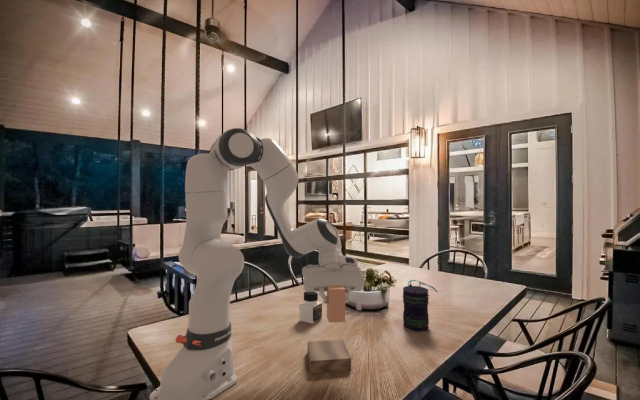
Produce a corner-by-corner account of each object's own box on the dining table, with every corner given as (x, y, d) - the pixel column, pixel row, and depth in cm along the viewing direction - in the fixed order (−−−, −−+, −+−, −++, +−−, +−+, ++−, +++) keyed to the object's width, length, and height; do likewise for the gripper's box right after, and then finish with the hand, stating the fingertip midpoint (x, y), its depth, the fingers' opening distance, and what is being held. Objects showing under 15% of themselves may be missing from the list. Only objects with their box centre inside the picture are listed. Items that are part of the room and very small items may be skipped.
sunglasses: (415, 286, 174) (416, 278, 174) (439, 294, 163) (440, 285, 163) (402, 291, 165) (403, 282, 165) (427, 299, 154) (428, 290, 154)
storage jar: (405, 320, 123) (405, 284, 123) (430, 324, 118) (429, 287, 119) (401, 329, 114) (400, 291, 114) (427, 333, 109) (427, 294, 110)
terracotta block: (345, 321, 89) (345, 289, 89) (328, 322, 88) (329, 289, 88) (341, 315, 94) (342, 284, 94) (326, 316, 93) (327, 285, 93)
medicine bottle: (313, 324, 118) (313, 295, 119) (299, 320, 122) (299, 292, 122) (322, 318, 124) (322, 290, 125) (308, 315, 128) (308, 288, 128)
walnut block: (310, 374, 84) (310, 360, 84) (307, 353, 96) (307, 341, 96) (351, 371, 85) (351, 358, 86) (343, 351, 97) (342, 339, 97)
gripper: (302, 259, 97) (303, 298, 87) (361, 259, 99) (369, 296, 89) (301, 270, 101) (302, 308, 91) (358, 269, 104) (365, 306, 94)
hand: (336, 302), depth 90 cm, fingers closed on terracotta block, 5 cm apart
